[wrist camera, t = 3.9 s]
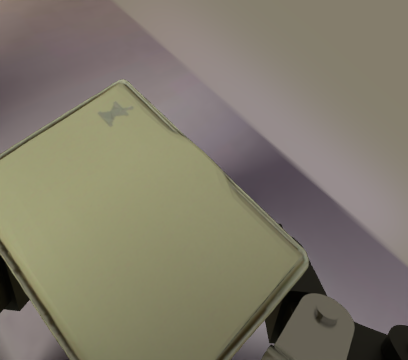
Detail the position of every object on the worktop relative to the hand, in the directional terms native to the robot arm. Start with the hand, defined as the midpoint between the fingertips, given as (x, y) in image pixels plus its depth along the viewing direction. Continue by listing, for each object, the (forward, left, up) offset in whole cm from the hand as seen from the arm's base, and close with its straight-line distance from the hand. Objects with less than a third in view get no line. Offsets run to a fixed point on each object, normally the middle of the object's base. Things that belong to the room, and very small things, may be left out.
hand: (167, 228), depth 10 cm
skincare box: (0, -1, -7) cm, 7 cm away
